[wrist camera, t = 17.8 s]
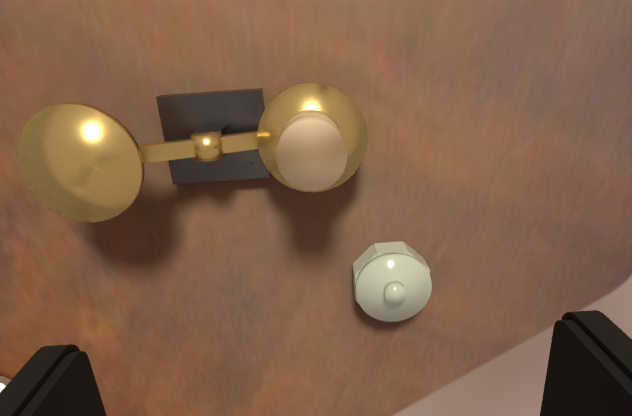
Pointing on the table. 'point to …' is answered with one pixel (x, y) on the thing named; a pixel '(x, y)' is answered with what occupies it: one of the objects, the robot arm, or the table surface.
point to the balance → (170, 145)
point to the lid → (391, 281)
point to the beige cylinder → (311, 151)
